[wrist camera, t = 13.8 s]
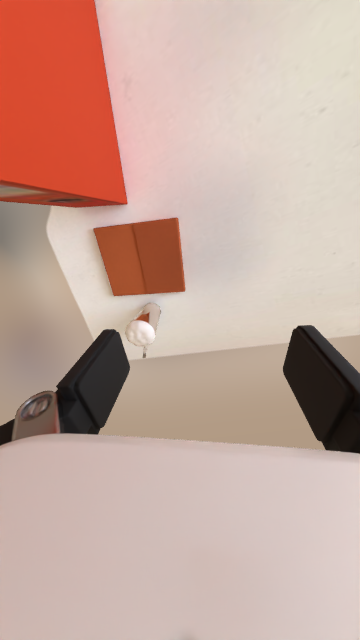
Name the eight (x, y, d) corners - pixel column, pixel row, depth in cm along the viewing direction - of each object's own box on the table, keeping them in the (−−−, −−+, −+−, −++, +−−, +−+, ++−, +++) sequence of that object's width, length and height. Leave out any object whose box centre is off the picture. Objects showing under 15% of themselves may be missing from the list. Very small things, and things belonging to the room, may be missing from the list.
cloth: (95, 228, 28) (92, 228, 27) (178, 217, 26) (177, 217, 25) (115, 294, 33) (113, 296, 32) (185, 289, 31) (184, 292, 30)
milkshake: (147, 325, 36) (130, 360, 27) (137, 301, 34) (115, 331, 25) (169, 321, 35) (158, 355, 26) (160, 296, 33) (144, 325, 24)
